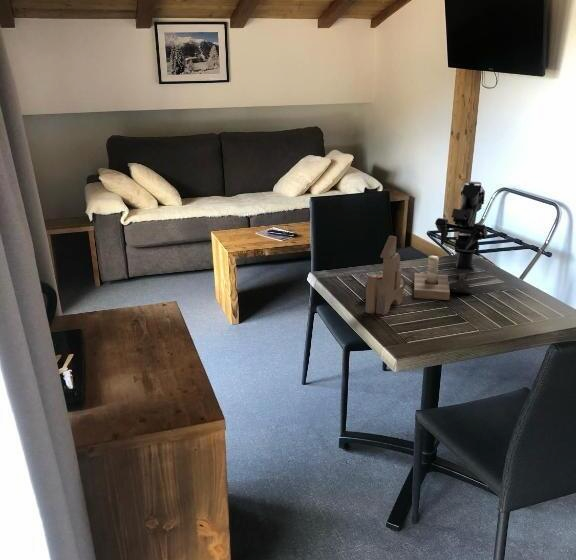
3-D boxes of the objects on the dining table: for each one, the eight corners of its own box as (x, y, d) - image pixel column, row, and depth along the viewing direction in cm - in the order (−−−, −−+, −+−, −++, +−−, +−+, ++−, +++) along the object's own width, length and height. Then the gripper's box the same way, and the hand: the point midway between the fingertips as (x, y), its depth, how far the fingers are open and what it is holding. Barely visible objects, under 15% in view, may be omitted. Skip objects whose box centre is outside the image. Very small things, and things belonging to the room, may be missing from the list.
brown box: (414, 280, 218) (414, 273, 217) (446, 282, 216) (447, 275, 215) (413, 297, 201) (414, 289, 200) (449, 300, 199) (449, 292, 198)
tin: (401, 292, 206) (402, 270, 204) (405, 295, 204) (407, 273, 201) (363, 298, 201) (364, 275, 198) (368, 301, 199) (369, 278, 196)
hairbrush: (474, 269, 222) (472, 288, 200) (473, 278, 223) (471, 298, 201) (451, 267, 225) (448, 286, 202) (451, 276, 226) (447, 295, 203)
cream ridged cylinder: (430, 287, 211) (433, 255, 207) (438, 290, 208) (441, 257, 204) (423, 289, 209) (426, 256, 205) (431, 292, 206) (433, 259, 202)
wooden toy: (384, 298, 201) (389, 229, 193) (402, 302, 197) (407, 232, 189) (363, 312, 189) (367, 239, 181) (381, 317, 186) (386, 243, 177)
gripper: (439, 196, 216) (424, 231, 211) (488, 203, 205) (474, 239, 201) (445, 213, 225) (431, 247, 220) (493, 220, 214) (479, 255, 209)
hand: (453, 246), depth 212 cm, fingers open, 9 cm apart
